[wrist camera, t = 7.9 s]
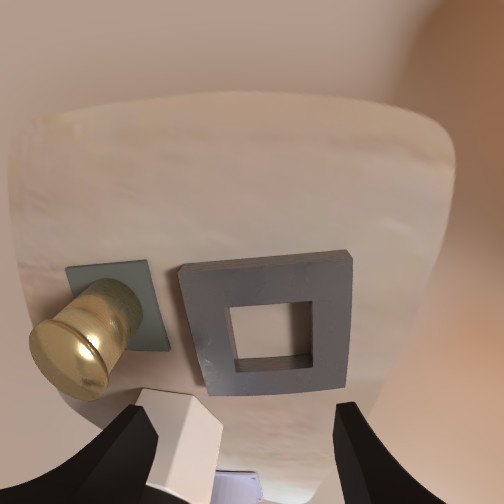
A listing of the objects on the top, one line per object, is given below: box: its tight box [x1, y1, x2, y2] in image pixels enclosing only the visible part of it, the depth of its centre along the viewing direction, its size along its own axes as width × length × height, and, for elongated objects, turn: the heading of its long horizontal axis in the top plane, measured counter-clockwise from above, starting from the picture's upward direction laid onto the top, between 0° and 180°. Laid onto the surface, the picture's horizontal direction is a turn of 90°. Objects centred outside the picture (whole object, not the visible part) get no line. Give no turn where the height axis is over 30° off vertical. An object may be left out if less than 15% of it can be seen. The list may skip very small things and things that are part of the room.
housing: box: [177, 250, 353, 396], centre depth 19 cm, size 10×10×2 cm
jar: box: [135, 388, 223, 504], centre depth 18 cm, size 9×8×12 cm
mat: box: [65, 260, 171, 352], centre depth 19 cm, size 7×7×1 cm
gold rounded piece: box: [29, 278, 143, 401], centre depth 16 cm, size 5×5×7 cm
